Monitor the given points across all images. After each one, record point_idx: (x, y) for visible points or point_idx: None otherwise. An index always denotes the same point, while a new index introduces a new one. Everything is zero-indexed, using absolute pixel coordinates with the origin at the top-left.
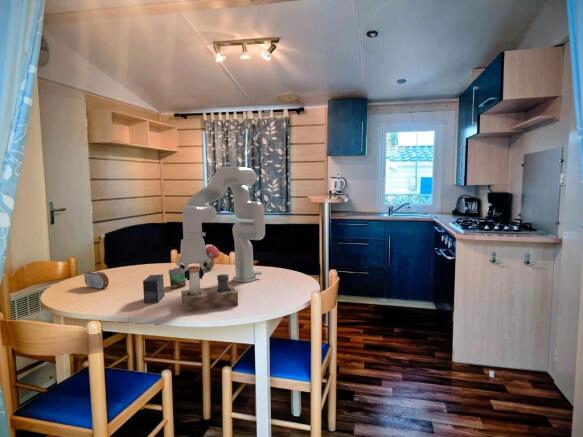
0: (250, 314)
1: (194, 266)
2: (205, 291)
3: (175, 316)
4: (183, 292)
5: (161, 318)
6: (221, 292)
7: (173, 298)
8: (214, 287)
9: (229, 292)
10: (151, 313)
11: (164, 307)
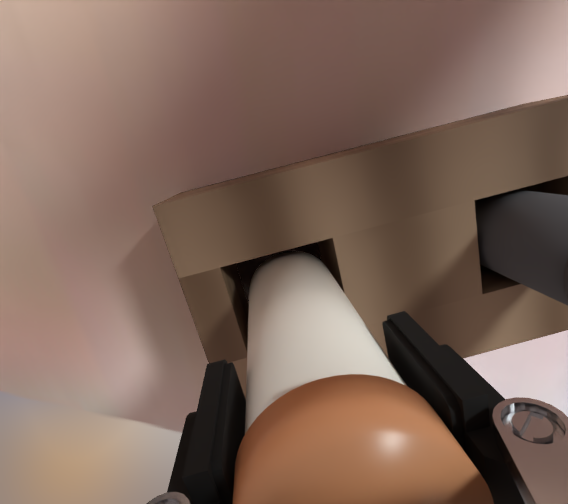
0: (563, 398)
1: (373, 472)
2: (379, 260)
3: (196, 395)
4: (188, 266)
5: (126, 415)
6: (503, 304)
7: (66, 22)
8: (460, 143)
9: (561, 311)
10: (32, 340)
11: (74, 242)
